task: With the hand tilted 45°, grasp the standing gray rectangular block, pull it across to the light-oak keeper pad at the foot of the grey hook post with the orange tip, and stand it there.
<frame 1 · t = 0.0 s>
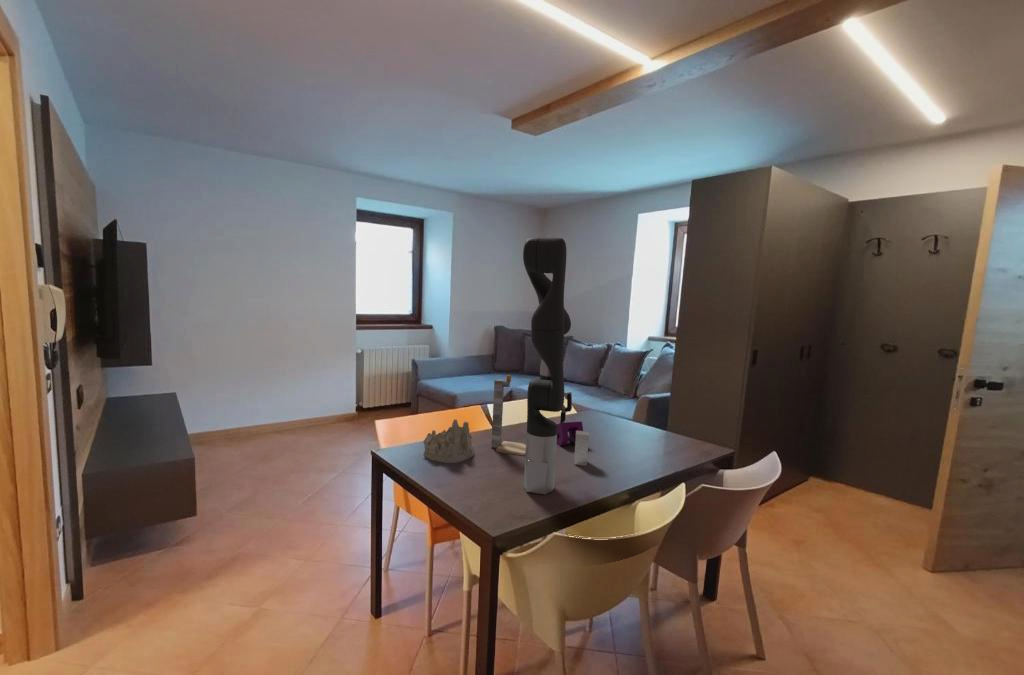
hand: (549, 421, 145), 17 cm above the table, tool pointing down, fingers open, 8 cm apart
keeper: (513, 448, 168), on the table
gray rectangular block: (580, 463, 156), on the table
mounting bracket: (562, 440, 182), on the table
gray sandcastle: (449, 455, 158), on the table
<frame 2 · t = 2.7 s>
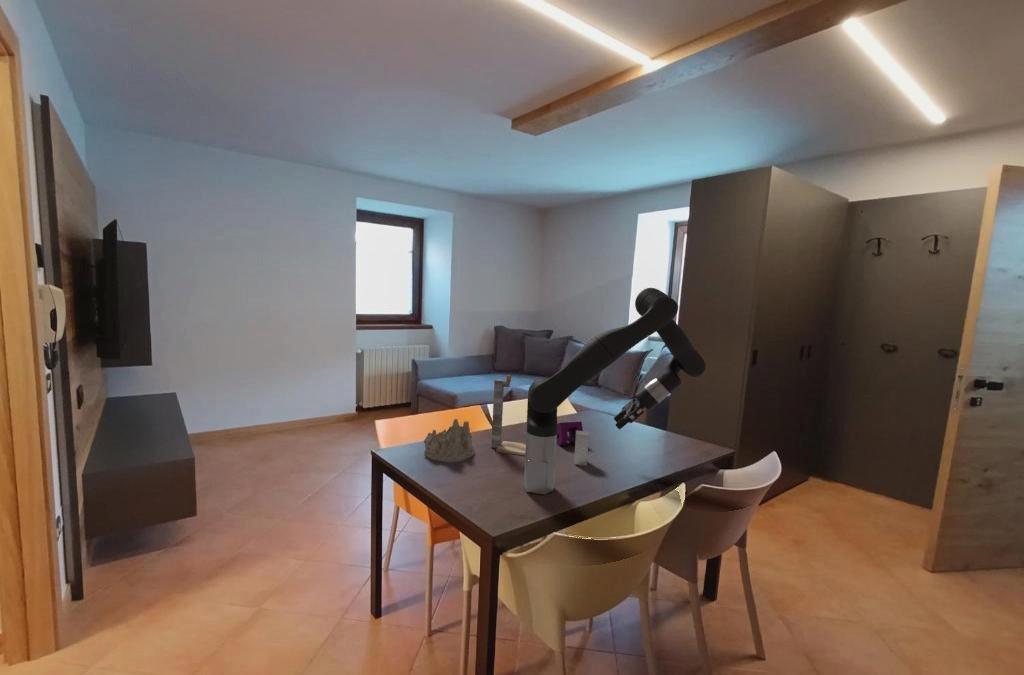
hand: (616, 423, 153), 15 cm above the table, tool tilted 45°, fingers open, 8 cm apart
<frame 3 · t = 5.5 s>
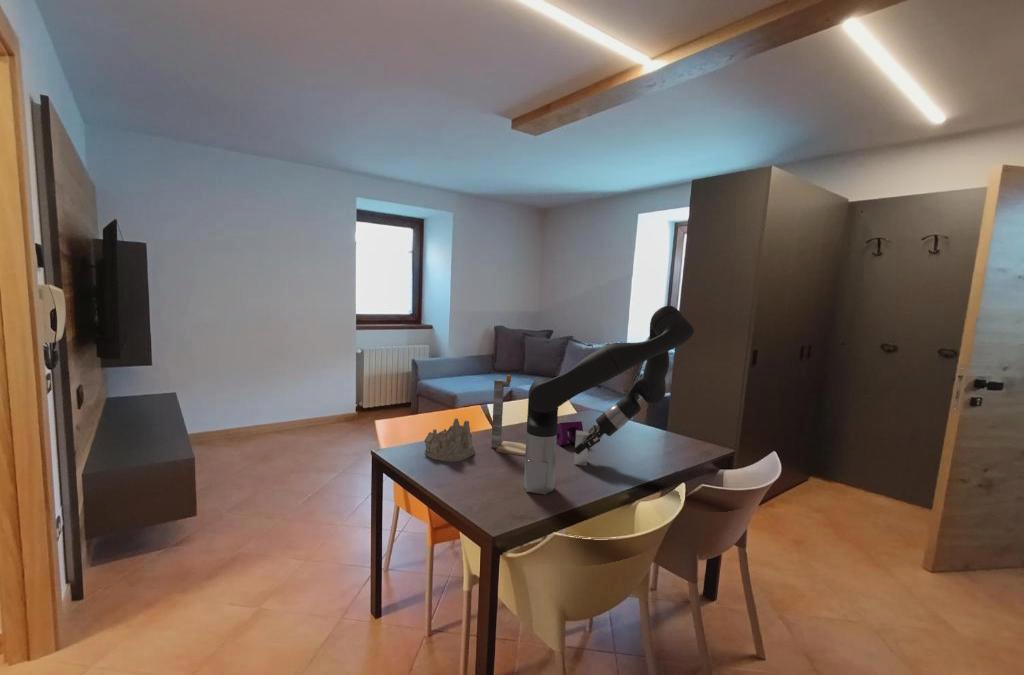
hand: (575, 449, 156), 5 cm above the table, tool tilted 45°, fingers closed on gray rectangular block, 4 cm apart
gray rectangular block: (580, 462, 156), on the table, touching gripper
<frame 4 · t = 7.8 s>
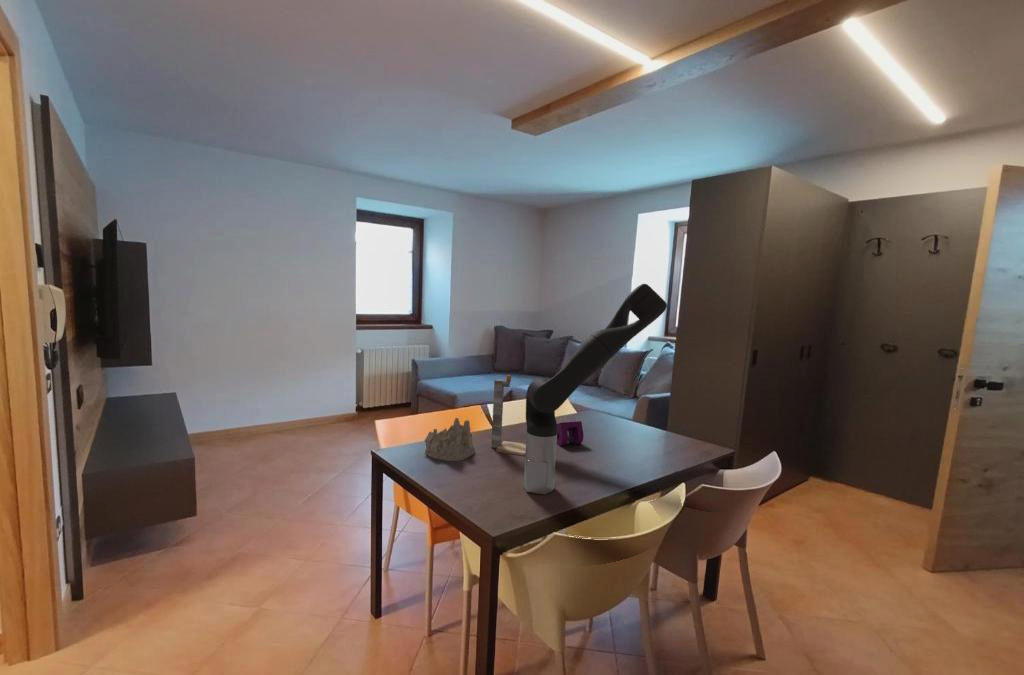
hand: (532, 415, 165), 14 cm above the table, tool tilted 40°, fingers closed on gray rectangular block, 4 cm apart
gray rectangular block: (537, 428, 164), point 9 cm above the table, touching gripper
when the fingers open (6 cm above the table, at t = 10.6 s): gray rectangular block stays where it is, resting on keeper.
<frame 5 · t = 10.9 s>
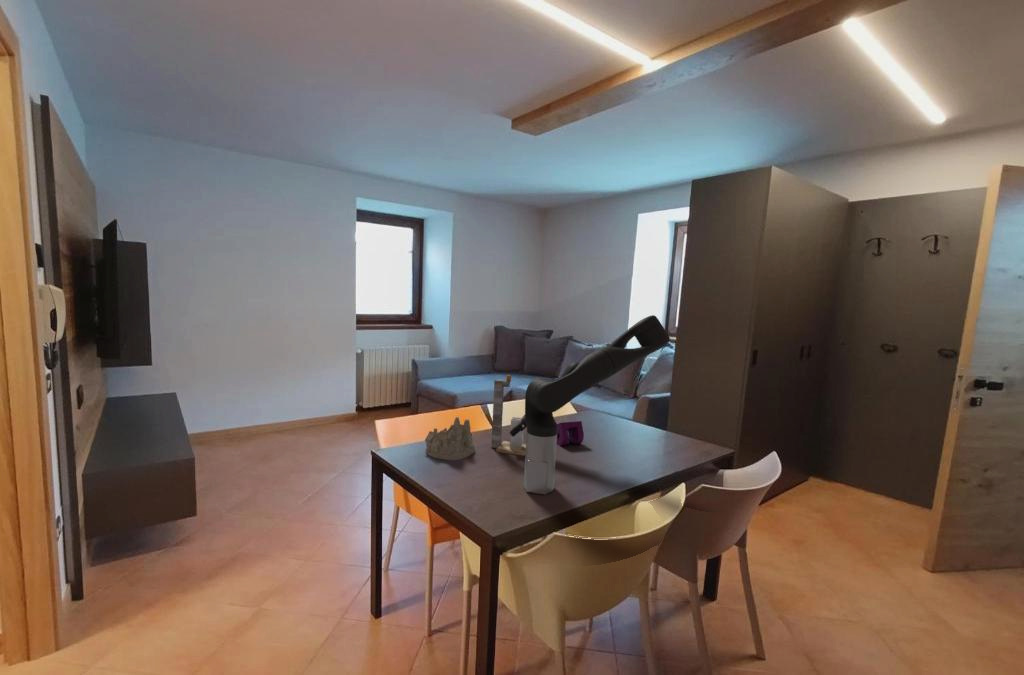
hand: (513, 431, 167), 7 cm above the table, tool tilted 45°, fingers open, 7 cm apart
gray rectangular block: (516, 447, 167), point 1 cm above the table, touching keeper
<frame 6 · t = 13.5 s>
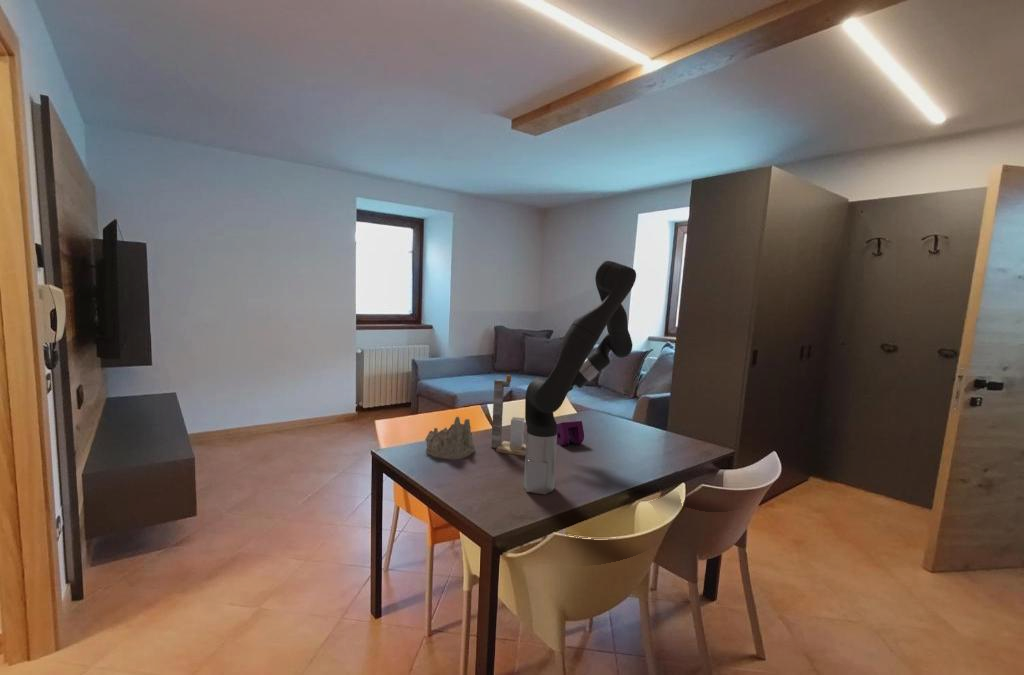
hand: (550, 400, 164), 20 cm above the table, tool tilted 45°, fingers open, 8 cm apart
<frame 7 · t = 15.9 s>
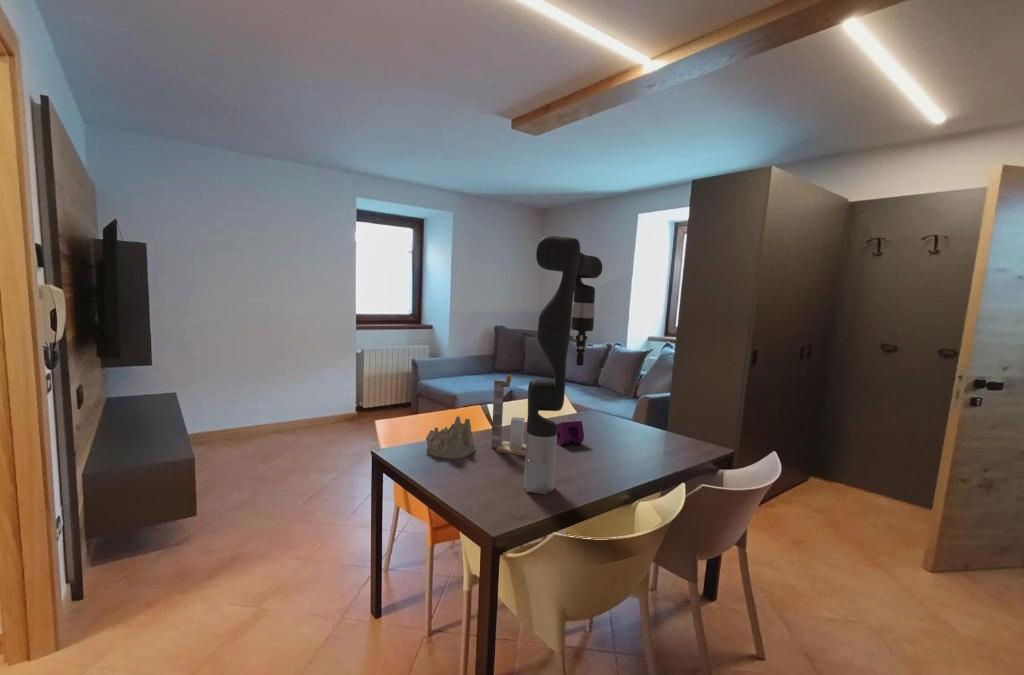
hand: (579, 363, 150), 36 cm above the table, tool pointing down, fingers open, 8 cm apart
at the end: gray rectangular block inside the target area on the keeper (0.4 cm from its centre), point 0.8 cm above the keeper's base; gray rectangular block tilted 0°; the gripper is holding nothing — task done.
